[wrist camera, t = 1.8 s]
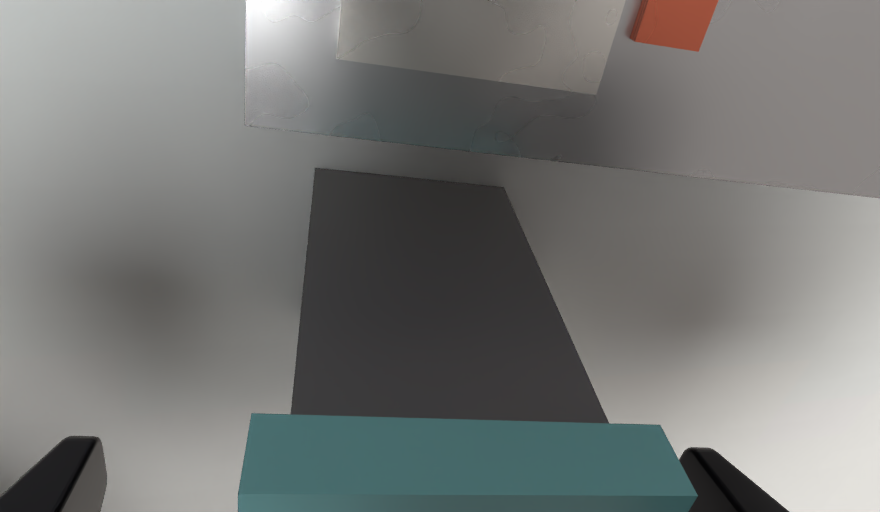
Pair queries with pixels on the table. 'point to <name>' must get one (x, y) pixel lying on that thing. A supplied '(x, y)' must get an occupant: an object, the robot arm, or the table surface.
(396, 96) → the faceplate
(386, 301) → the plug
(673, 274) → the table surface
